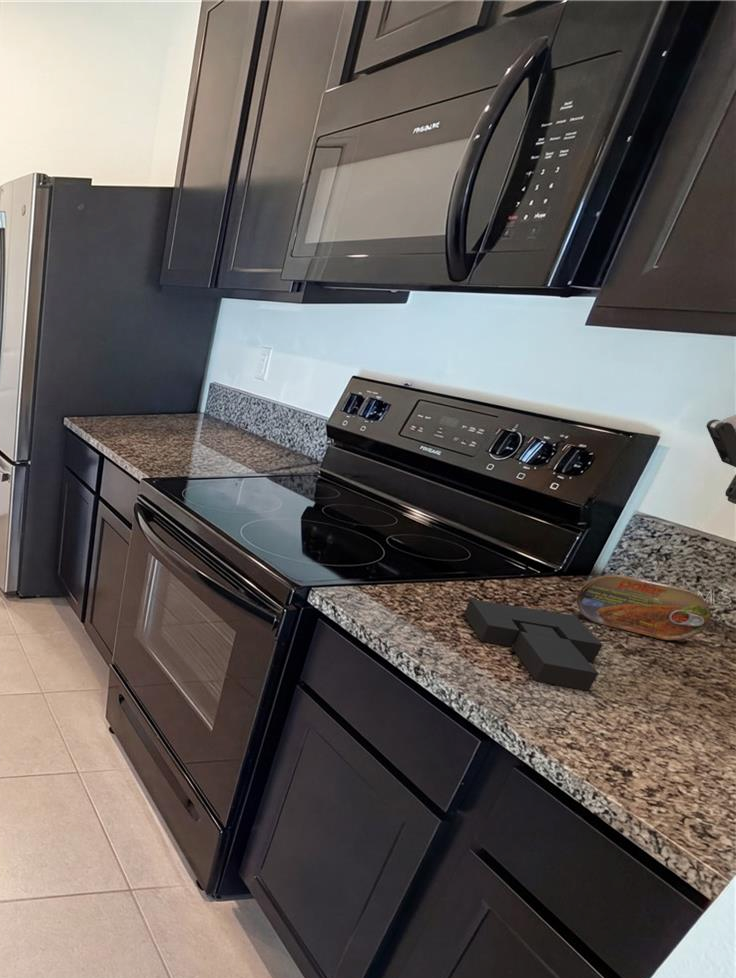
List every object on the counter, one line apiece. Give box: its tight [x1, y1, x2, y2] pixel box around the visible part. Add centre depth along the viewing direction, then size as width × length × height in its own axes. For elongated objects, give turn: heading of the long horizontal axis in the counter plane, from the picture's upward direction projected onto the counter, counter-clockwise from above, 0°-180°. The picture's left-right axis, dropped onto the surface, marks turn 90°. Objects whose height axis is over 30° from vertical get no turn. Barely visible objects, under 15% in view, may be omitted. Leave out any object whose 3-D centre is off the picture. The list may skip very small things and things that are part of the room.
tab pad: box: [511, 623, 599, 692], centre depth 96 cm, size 6×14×3 cm, turn 157°
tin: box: [576, 574, 712, 641], centre depth 105 cm, size 15×3×8 cm, turn 45°
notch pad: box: [463, 598, 603, 662], centre depth 103 cm, size 14×10×3 cm
